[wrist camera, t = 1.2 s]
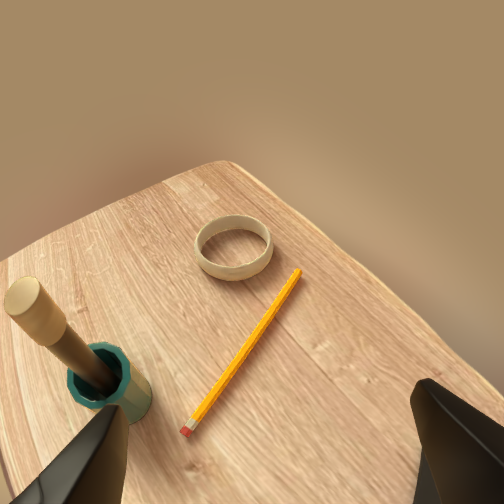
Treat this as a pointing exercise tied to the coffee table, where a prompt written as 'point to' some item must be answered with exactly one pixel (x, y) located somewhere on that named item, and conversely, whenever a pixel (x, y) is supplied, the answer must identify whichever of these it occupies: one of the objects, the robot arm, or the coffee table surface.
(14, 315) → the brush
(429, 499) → the mat
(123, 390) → the pot
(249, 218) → the ring
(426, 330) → the coffee table surface
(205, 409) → the pencil
